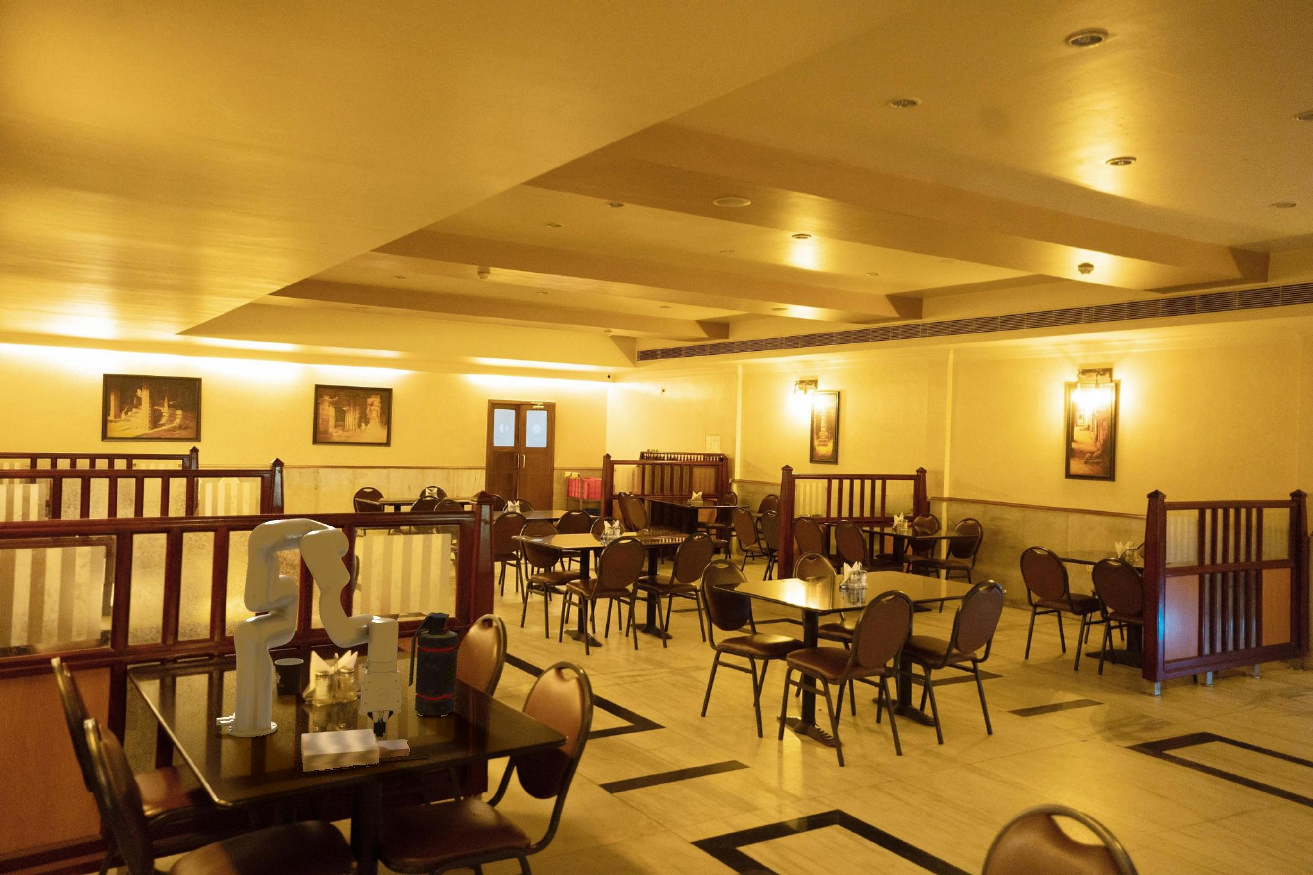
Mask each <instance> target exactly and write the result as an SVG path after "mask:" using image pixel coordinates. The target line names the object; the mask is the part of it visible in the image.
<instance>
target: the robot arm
mask: <svg viewBox="0 0 1313 875" xmlns="http://www.w3.org/2000/svg"><path fill="white" fill-rule="evenodd" d="M349 548H350V543H349V539H348V537H347V535H346V534H345V533H344V532H343V531H342V530H340V529H338V528H336V527H334V526H330V525H327V524H326V523H325V524H324V523H322V522H318V521H317V520H313V519H309V518H290V519H280V520H279V519H277V520H271V521H267V522H263V523H261V524H259V525H257V526H256V527H255V528H254V529H253V530H252V531H251V532H250V534H249V536H248V541H247V568H246V577H245V582H244V583H245V585H244V593H243V594H244V595H243V602H244V606H245V608H246V610H247V611H248V612H251V613H254V614H257V613H260V614H261V613H266V612H268V614H261V615H257V616H252V617H249V618H247V619H244V620H242V621H241V622H240V623H238V625H237V626H236V628H235V630H234V632H233V641H234V642H233V643H234V649H235V654H236V655H235V656H236V657H235V659H236V667H235V668H236V673H235V674H236V675H235V696H234V712H233V714H232V715H229V717H217V718H216V725H215V726H220V727H221V728H222V727H228V728H227V734H228V735H230V736H233V737H237V738H257V737H256V736H258V737H263V735H264V736H267V734H268V735H270V733H271V734H272V733H274V732H276V731H277V730H276V729H278V724H277V723H276V722H274V721H272V713H273V712H272V711H273V691H274V690H273V689H274V687H273V686H274V662H273V658H272V656H271V655H270V652H269V650H270V649H272V648H277V647H281V646H283V645H286V644H288V643H289V642H291V640H292V639H293V638H294V636H295V634H296V633H295V632H296V630H297V621H298V620H297V619H298V613H299V602H300V590H299V586H298V583H297V581H296V580H295V579H294V578H293V577H291V576H290V575H287V574H280V572H281V560H280V556H279V554H278V552H283V551H294V550H299V552H300V555H301V556H302V558H303V561H304V562H305V565H306V567H307V568H308V570H309V572H310V574H311V576H312V578H313V579H314V582H315V584H316V585H317V587H318V590H319V594H320V595H319V597H318V598H319V599H318V613H319V618H320V622H321V624H322V626H323V628H324V630H325V632H326V634H327V635H328V637H329V640H331V641H332V643H334V645H336V646H338V648H339V647H340V648H342V649H343V648H344V649H347V648H351V647H355V646H358V645H362V644H368V646H367V659H366V661H364V662H361V668H362V669H366V670H365V671H364V673H363V677H362V682H361V688H360V698H359V700H360V702H359V704H360V707H359V710H358V714H359V715H360V716H365V717H369V719H370V720H372V722H373V724H372V726H373V727H372V730H373V734H374V735H375V738H376V739H378V738H383V737H384V734H385V733H386V730H387V729H386V727H387V721H388V719H390V718H391V717H392V716H393V715H395V714H398V713H401V712H402V678H401V671H400V670H398V648H399V622H398V620H397V619H395V618H392V617H379V616H377V615H374V614H371V613H363V614H358V615H357V614H356V615H353V616H347V614H346V612H345V611H344V608H343V607H342V606H343V605H342V602H341V594H342V590H343V589H344V587H346V585H347V584H348V583H349V582H350V580H351V575H350V573H349V571H348V569H347V567H346V565H345V564H344V562H343V559H342V558H343V557H345V555H346V554H347V553H348V550H349ZM378 712H382V713H381V716H380V718H379V717H378V716H379V714H378Z"/></svg>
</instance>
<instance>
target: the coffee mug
mask: <svg viewBox="0 0 1313 875" xmlns="http://www.w3.org/2000/svg"><path fill="white" fill-rule="evenodd" d="M303 666H304V660H303V659H300V658H282V659H278V660H275V661H274V671H275V673H274V674H275V684H276V694H277V696H281V695H290V696H295V694H296V695H298V694H299V692H300V685H301V679H302V674H303V673H302V672H303Z"/></svg>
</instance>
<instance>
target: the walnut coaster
mask: <svg viewBox="0 0 1313 875" xmlns="http://www.w3.org/2000/svg"><path fill="white" fill-rule="evenodd" d="M376 741H377V744H378V747H379V749H380V751H379V758H386V757H388V758H389V757H397V756H405V755H406V756H408V755H409V752H410V748H409V746H408V744H407V741H408V740H406V738H404V739H403V738H401V739H389V740H376Z"/></svg>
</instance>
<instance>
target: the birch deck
mask: <svg viewBox="0 0 1313 875" xmlns="http://www.w3.org/2000/svg"><path fill="white" fill-rule="evenodd" d="M300 738H301V739H300V740H301V741H300V753H301V754H302V755H301V761H302V763H303V764H302V769H303V770H302V772H303V773H305V772H315V771H314V770H319V771H326V770H325V769H330V770H334V769H333V768H340V767H349V766H353V765H366V764H367V765H368V764H375V763H376V764H377V763H379V751H380V749H379V747H378V744H377V741H378V740H377V737H376V734H373V728H366V729H365V728H364V729H352V730H338V731H335V730H334V731H323V732H321V731H320V732H310V733H301V737H300ZM379 764H380V763H379Z"/></svg>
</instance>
